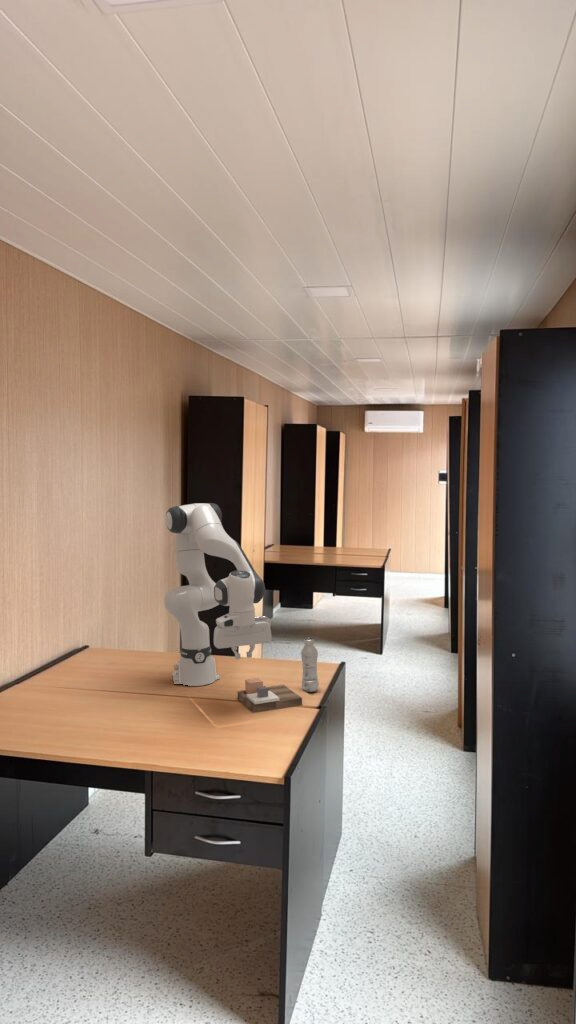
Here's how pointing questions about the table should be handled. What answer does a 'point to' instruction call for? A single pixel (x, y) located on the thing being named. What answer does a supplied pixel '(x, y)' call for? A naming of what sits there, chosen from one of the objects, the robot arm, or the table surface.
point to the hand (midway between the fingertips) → (243, 658)
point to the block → (252, 685)
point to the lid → (262, 696)
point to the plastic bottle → (309, 666)
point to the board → (285, 700)
